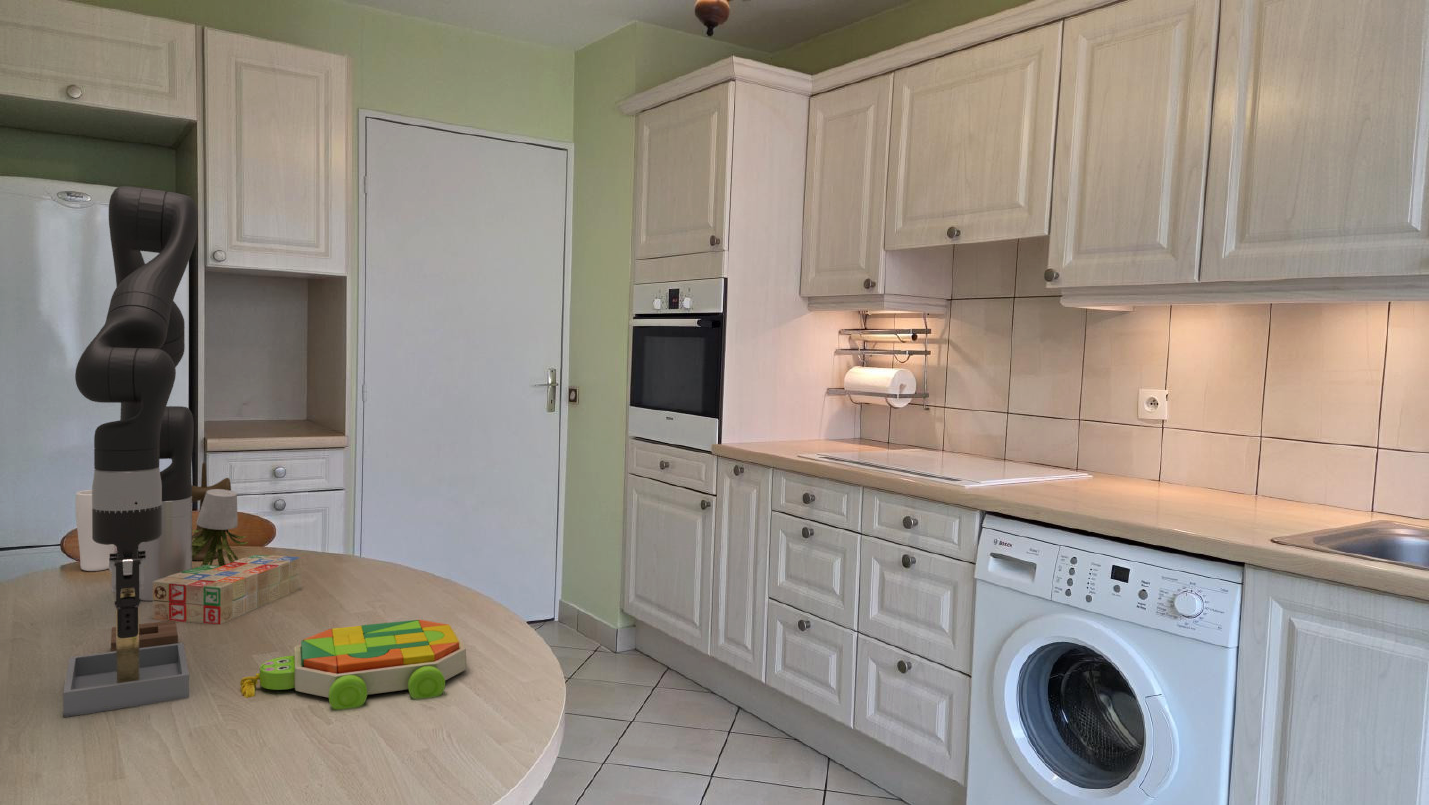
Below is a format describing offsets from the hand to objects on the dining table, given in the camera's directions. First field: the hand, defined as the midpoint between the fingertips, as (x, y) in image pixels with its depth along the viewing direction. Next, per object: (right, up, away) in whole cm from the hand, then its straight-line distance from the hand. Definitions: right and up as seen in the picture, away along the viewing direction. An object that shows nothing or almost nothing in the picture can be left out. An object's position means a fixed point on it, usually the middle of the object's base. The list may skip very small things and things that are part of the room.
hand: (127, 627), depth 117 cm
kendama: (-28, -3, +68) cm, 74 cm away
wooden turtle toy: (+27, -9, +6) cm, 29 cm away
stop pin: (0, -8, 0) cm, 8 cm away
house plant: (-17, +12, +56) cm, 59 cm away
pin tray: (0, -8, 0) cm, 8 cm away
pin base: (-7, -7, +14) cm, 17 cm away
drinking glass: (-44, -3, +58) cm, 73 cm away
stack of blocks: (-1, -3, +37) cm, 37 cm away
